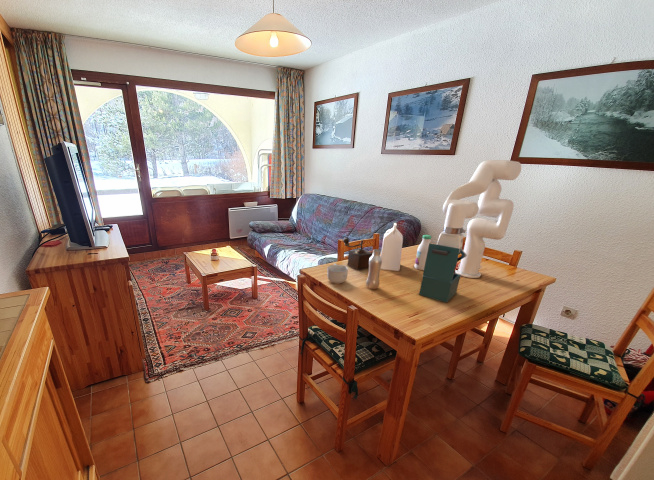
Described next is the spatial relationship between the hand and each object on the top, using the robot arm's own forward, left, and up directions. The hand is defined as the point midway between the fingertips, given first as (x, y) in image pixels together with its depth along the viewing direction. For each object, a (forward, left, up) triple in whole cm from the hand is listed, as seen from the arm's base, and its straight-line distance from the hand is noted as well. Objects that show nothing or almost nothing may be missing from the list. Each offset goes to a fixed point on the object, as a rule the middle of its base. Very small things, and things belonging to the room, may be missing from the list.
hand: (444, 267), depth 147 cm
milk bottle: (-24, -27, -14) cm, 39 cm away
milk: (-10, -39, -14) cm, 42 cm away
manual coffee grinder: (+8, -49, -14) cm, 51 cm away
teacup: (+32, -39, -14) cm, 52 cm away
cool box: (+1, 0, -14) cm, 14 cm away
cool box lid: (+7, +2, +4) cm, 9 cm away
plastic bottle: (+23, -22, -14) cm, 34 cm away
